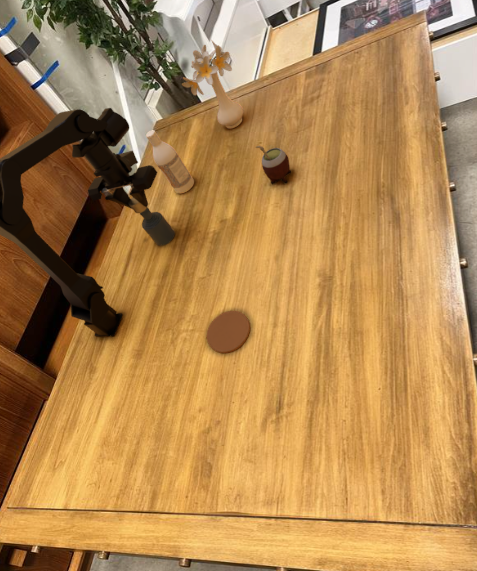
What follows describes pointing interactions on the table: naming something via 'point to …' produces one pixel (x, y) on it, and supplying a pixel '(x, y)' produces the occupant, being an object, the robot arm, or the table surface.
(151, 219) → the bottle
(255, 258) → the table surface
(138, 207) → the cap
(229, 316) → the coaster
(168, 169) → the bath foam
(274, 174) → the mate gourd
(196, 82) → the flower vase
